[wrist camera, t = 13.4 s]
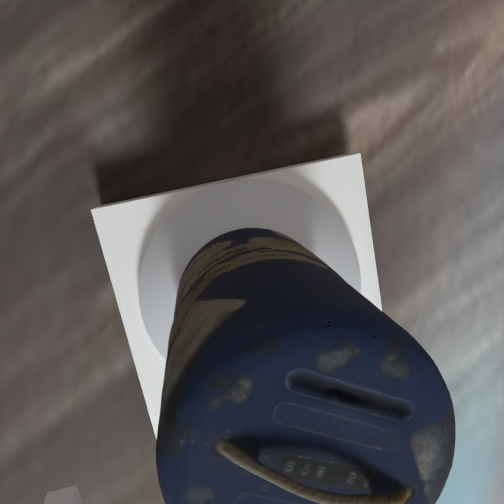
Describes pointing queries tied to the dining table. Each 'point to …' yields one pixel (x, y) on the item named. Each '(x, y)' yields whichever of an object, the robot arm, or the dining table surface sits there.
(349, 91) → the dining table surface
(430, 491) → the canister
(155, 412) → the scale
